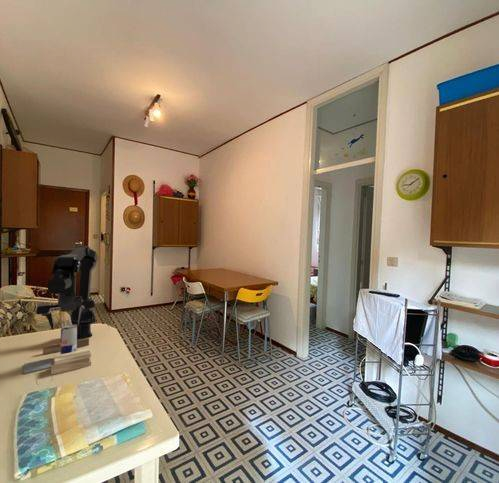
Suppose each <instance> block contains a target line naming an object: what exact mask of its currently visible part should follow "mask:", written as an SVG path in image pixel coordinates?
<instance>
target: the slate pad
mask: <svg viewBox="0 0 499 483" xmlns="http://www.w3.org/2000/svg"><path fill="white" fill-rule="evenodd" d="M51 361H53V360H52V357H50V358H45V359H40V360H36V361H30V362H26V363H24V368H23V375H26V374H27V375H28V374H31V373H34V372H35V373H36V372H41V371H44V370H48V369H51Z"/></svg>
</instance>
